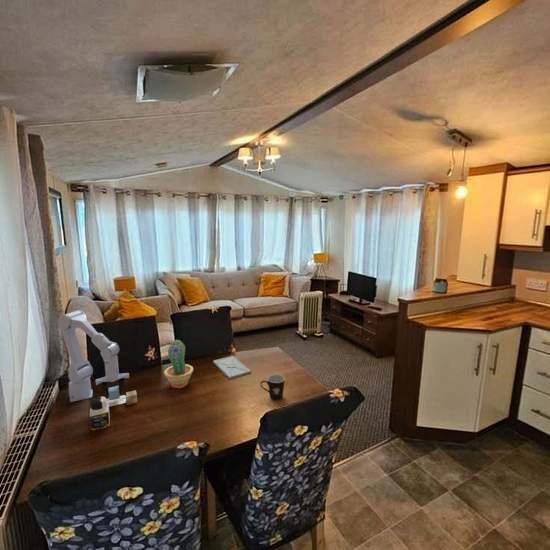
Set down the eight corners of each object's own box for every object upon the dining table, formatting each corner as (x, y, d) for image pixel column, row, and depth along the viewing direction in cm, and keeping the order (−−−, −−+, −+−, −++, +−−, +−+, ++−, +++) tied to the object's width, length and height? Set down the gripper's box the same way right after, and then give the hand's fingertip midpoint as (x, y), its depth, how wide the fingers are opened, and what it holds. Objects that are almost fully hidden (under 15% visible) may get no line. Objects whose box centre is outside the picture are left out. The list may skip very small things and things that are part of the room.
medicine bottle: (91, 431, 137) (88, 405, 134) (91, 422, 143) (89, 397, 141) (109, 426, 140) (107, 401, 138) (109, 417, 146) (107, 393, 144)
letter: (103, 408, 153) (103, 408, 153) (103, 400, 160) (103, 399, 160) (127, 402, 158) (127, 402, 158) (126, 394, 165) (126, 394, 165)
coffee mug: (287, 394, 165) (287, 376, 164) (280, 403, 158) (280, 384, 156) (267, 389, 170) (267, 372, 169) (259, 397, 163) (259, 379, 161)
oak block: (127, 405, 156) (126, 396, 155) (126, 400, 160) (126, 392, 159) (137, 402, 158) (136, 394, 157) (136, 398, 162) (135, 390, 161)
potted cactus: (158, 387, 172) (155, 343, 168) (177, 375, 186) (175, 333, 182) (182, 393, 166) (179, 347, 162) (199, 380, 180) (197, 337, 176)
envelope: (229, 380, 182) (250, 374, 189) (229, 376, 181) (250, 370, 189) (213, 363, 202) (233, 358, 209) (213, 360, 201) (233, 355, 208)
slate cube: (109, 400, 155) (108, 392, 155) (109, 396, 159) (108, 387, 159) (119, 398, 158) (118, 389, 157) (119, 393, 161) (118, 385, 161)
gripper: (94, 375, 149) (97, 402, 151) (128, 368, 156) (130, 394, 158) (94, 369, 155) (97, 394, 158) (127, 362, 162) (129, 387, 164)
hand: (114, 394), depth 158 cm, fingers closed on slate cube, 4 cm apart
